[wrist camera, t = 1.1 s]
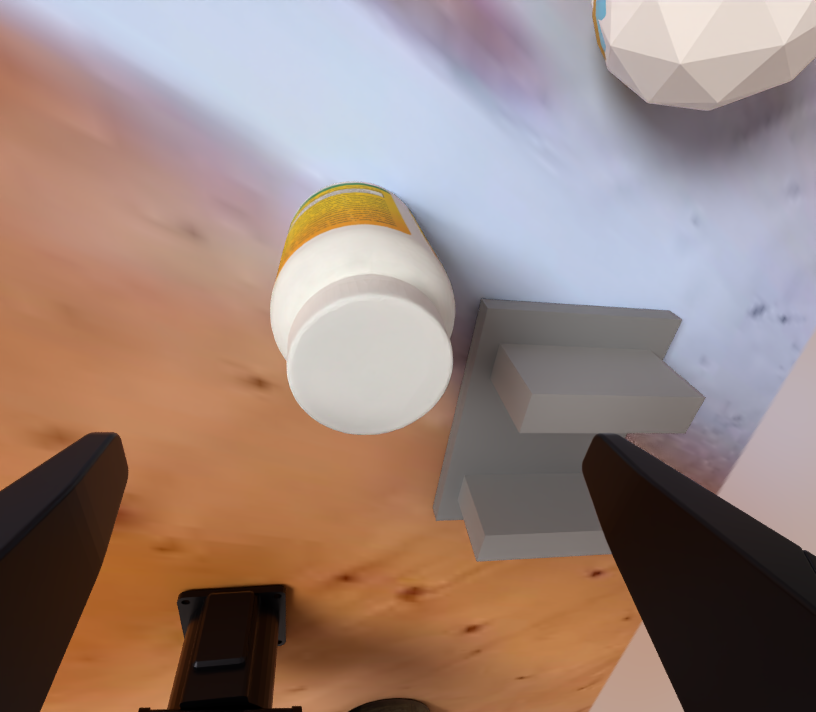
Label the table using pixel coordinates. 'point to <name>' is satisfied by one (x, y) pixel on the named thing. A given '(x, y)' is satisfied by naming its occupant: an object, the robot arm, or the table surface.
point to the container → (393, 706)
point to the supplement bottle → (362, 311)
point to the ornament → (704, 47)
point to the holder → (552, 420)
